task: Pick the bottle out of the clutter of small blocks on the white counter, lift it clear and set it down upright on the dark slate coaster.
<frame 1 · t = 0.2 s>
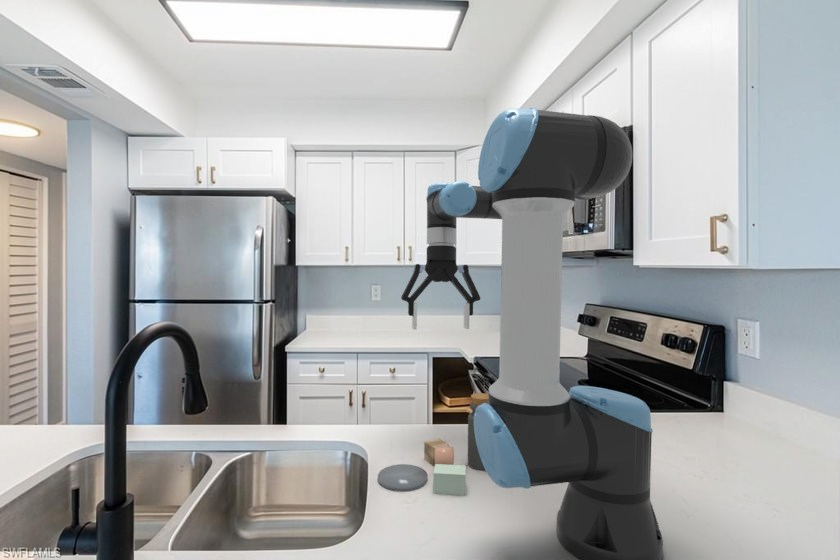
hand: (440, 328, 111), 28 cm above the worktop, fingers open, 13 cm apart
bottle: (481, 465, 94), on the worktop
oak block: (436, 461, 96), on the worktop
sage block: (449, 489, 83), on the worktop
terracotta jar: (444, 472, 90), on the worktop
coaster: (402, 478, 87), on the worktop
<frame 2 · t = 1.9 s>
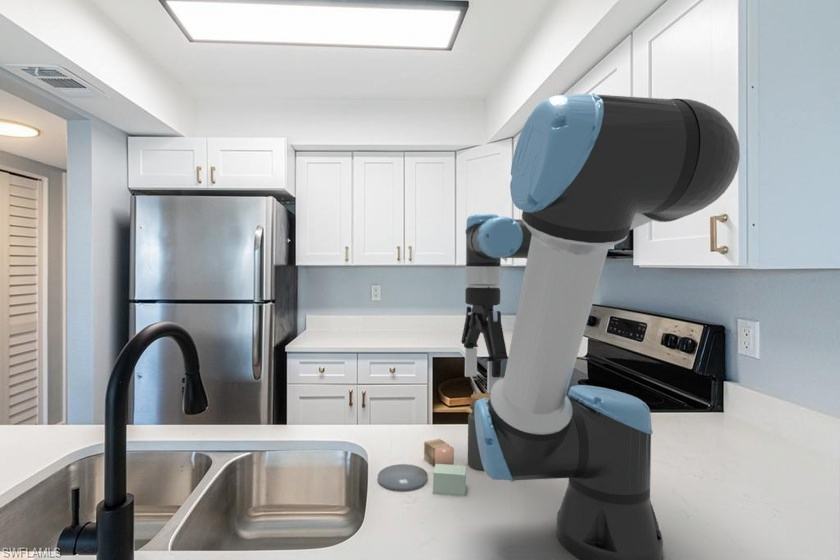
hand: (481, 383, 95), 18 cm above the worktop, fingers open, 13 cm apart
nothing on the worktop moved.
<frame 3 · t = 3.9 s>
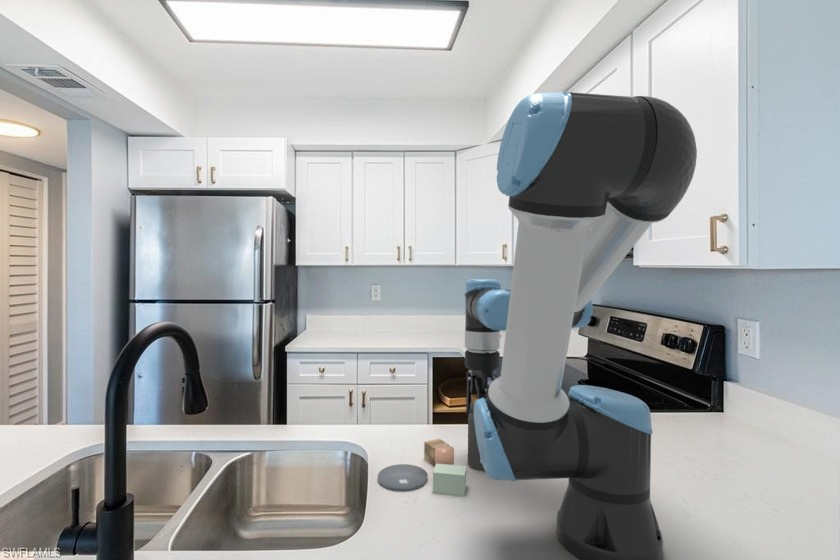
hand: (481, 455, 94), 2 cm above the worktop, fingers closed on bottle, 6 cm apart
bottle: (481, 465, 94), on the worktop, touching gripper
everything else where it was.
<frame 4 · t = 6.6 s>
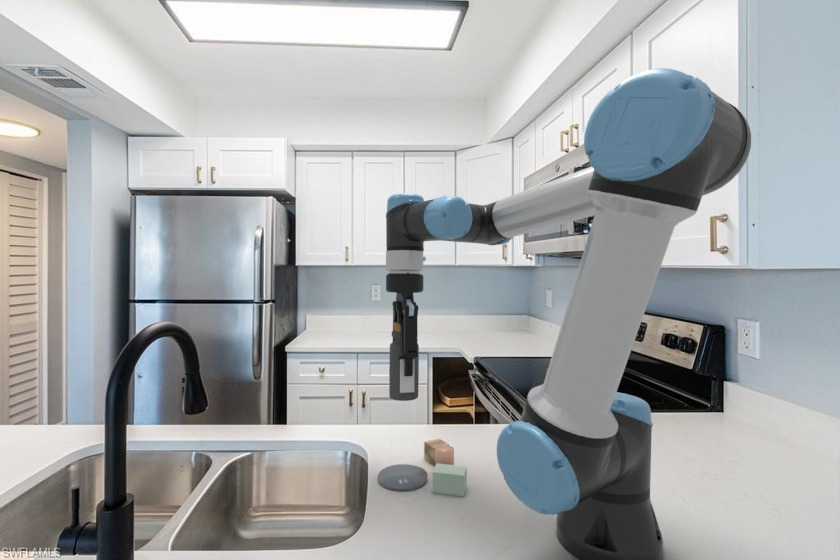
hand: (403, 387, 87), 18 cm above the worktop, fingers closed on bottle, 6 cm apart
bottle: (403, 397, 87), point 16 cm above the worktop, touching gripper
everything else where it was.
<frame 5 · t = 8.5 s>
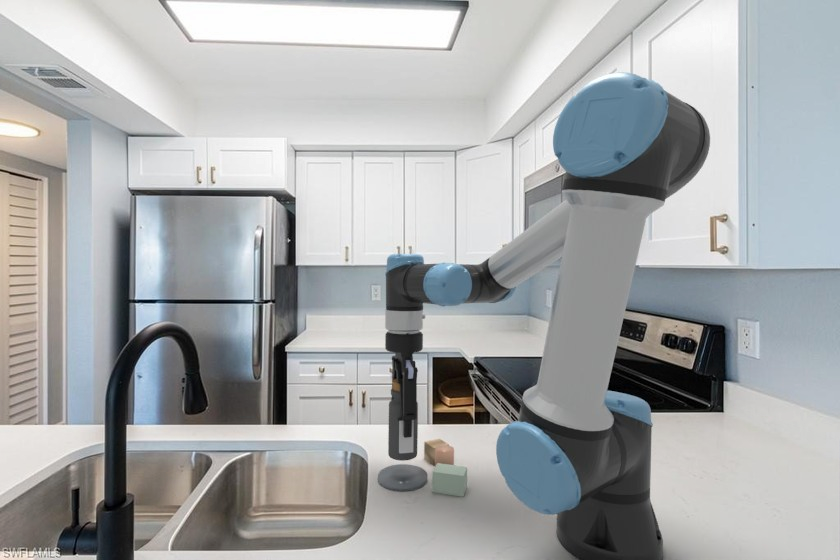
hand: (402, 445, 87), 7 cm above the worktop, fingers closed on bottle, 6 cm apart
bottle: (402, 455, 87), point 5 cm above the worktop, touching gripper
everything else where it was.
when the fingers open (4 cm above the worktop, at t = 9.4 s): bottle drops 2 cm, resting on coaster.
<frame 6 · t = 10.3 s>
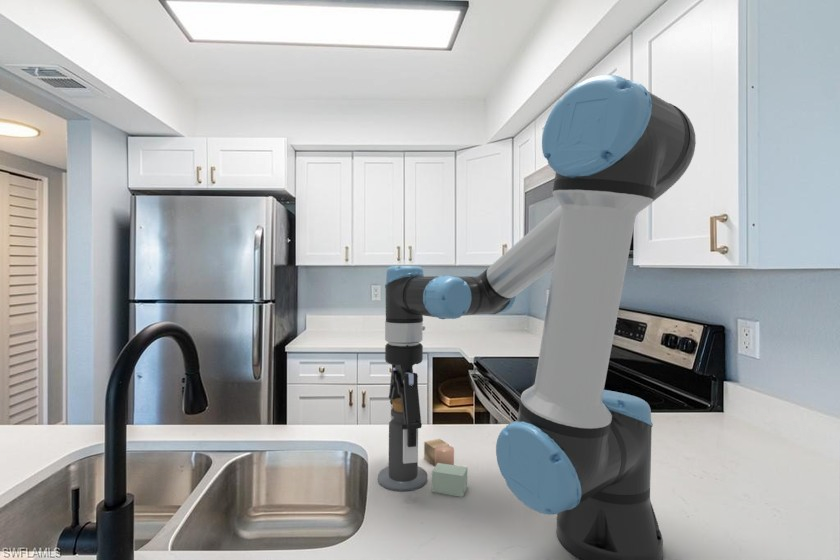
hand: (403, 448, 87), 6 cm above the worktop, fingers open, 13 cm apart
bottle: (403, 476, 87), point 1 cm above the worktop, touching coaster
everything else where it was.
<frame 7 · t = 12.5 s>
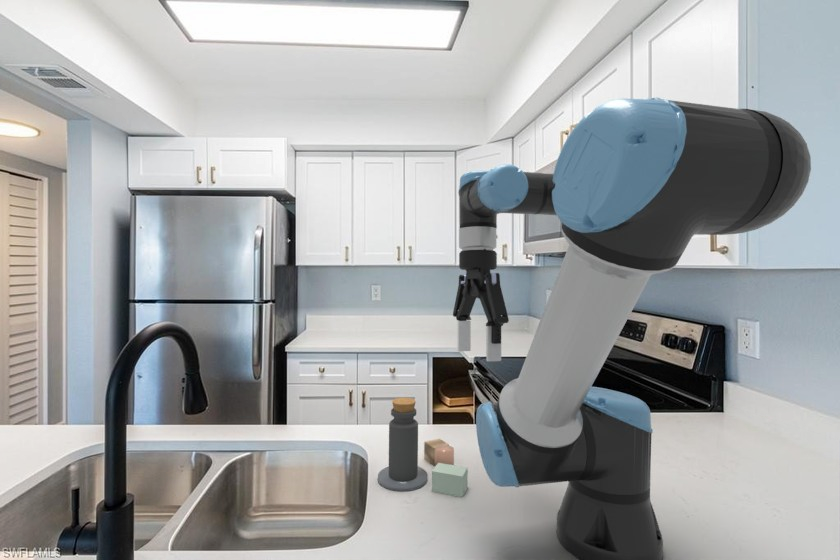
hand: (477, 355, 87), 25 cm above the worktop, fingers open, 13 cm apart
nothing on the worktop moved.
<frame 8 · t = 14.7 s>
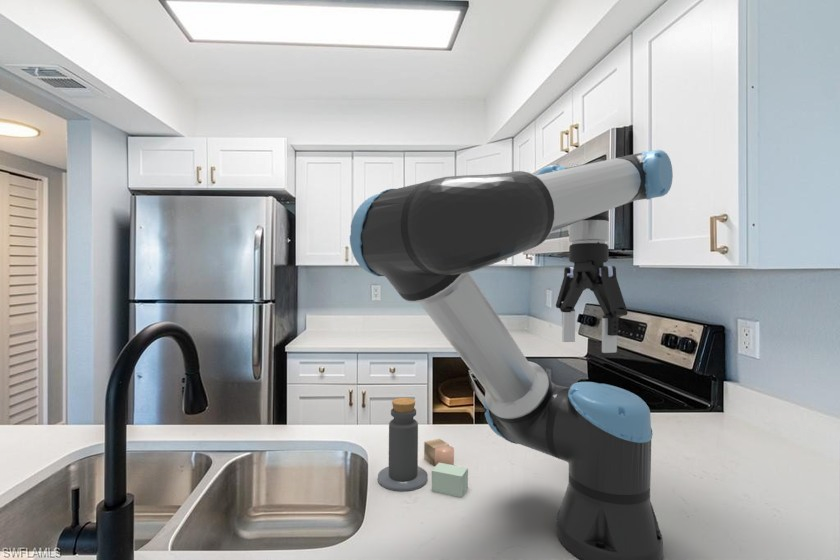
hand: (587, 346, 89), 27 cm above the worktop, fingers open, 13 cm apart
nothing on the worktop moved.
at the end: bottle 0.1 cm from the coaster (horizontally); bottle touching coaster; bottle tilted 0° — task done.
